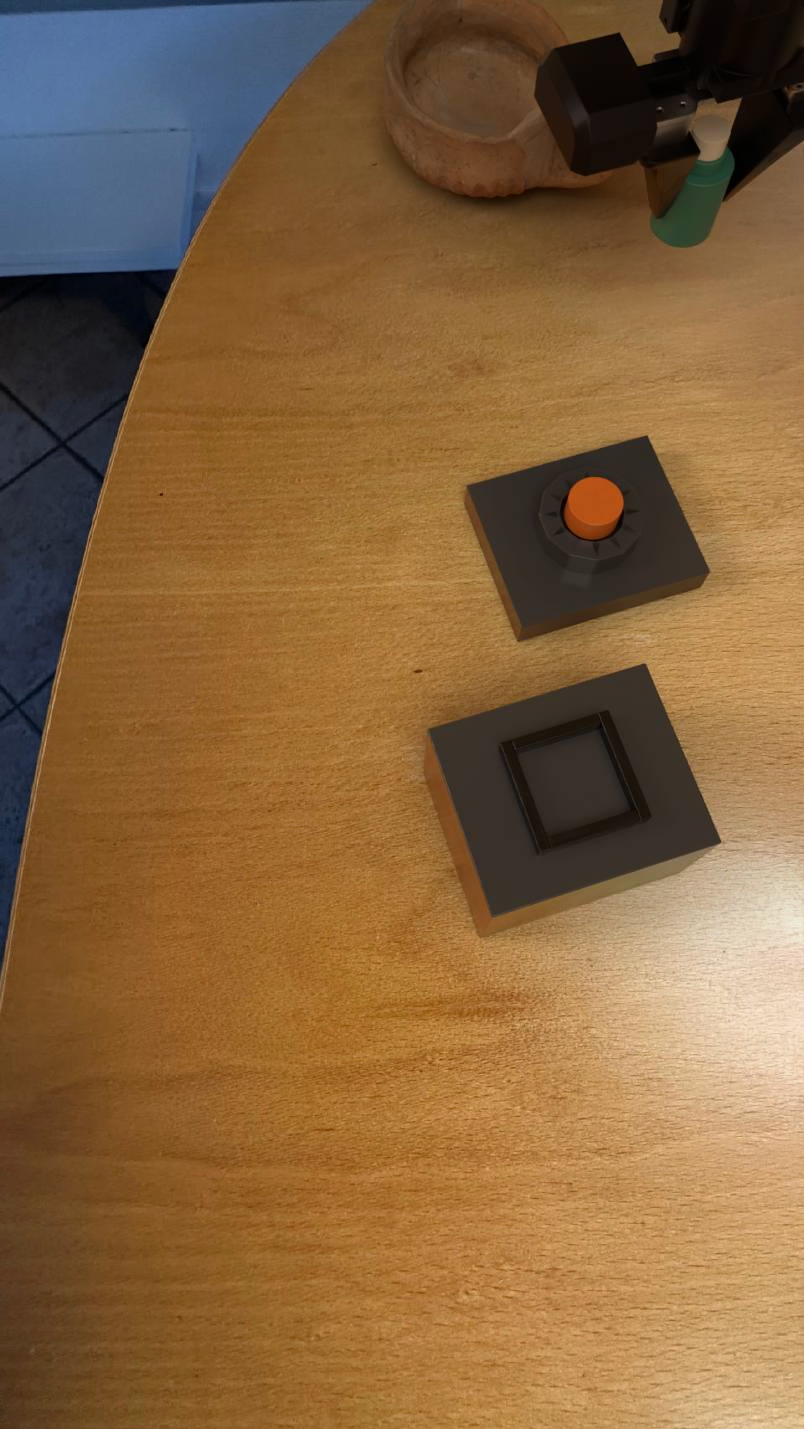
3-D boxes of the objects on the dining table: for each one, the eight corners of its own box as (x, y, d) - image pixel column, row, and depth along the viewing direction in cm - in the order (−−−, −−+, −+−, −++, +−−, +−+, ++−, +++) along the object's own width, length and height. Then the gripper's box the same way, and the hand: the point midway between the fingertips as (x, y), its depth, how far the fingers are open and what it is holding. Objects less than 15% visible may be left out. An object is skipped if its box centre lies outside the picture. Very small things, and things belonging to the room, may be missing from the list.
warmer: (615, 712, 63) (650, 654, 54) (681, 872, 59) (728, 838, 51) (422, 772, 61) (427, 722, 53) (479, 938, 58) (493, 914, 50)
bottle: (699, 194, 62) (732, 97, 56) (720, 242, 61) (756, 148, 55) (641, 205, 62) (668, 109, 56) (660, 254, 61) (690, 160, 54)
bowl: (646, 72, 77) (675, -31, 67) (610, 258, 77) (634, 181, 67) (406, 33, 78) (400, -75, 68) (369, 216, 77) (357, 134, 67)
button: (606, 486, 63) (611, 470, 62) (625, 531, 62) (632, 516, 61) (555, 500, 63) (560, 485, 61) (575, 546, 62) (580, 531, 60)
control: (639, 454, 68) (654, 417, 65) (700, 587, 65) (719, 557, 61) (464, 503, 67) (468, 469, 63) (517, 642, 64) (525, 614, 60)
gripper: (895, -242, 49) (779, 66, 63) (513, -159, 47) (485, 139, 61) (1013, -80, 45) (861, 205, 60) (606, 16, 43) (552, 287, 58)
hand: (688, 204), depth 60 cm, fingers closed on bottle, 3 cm apart
